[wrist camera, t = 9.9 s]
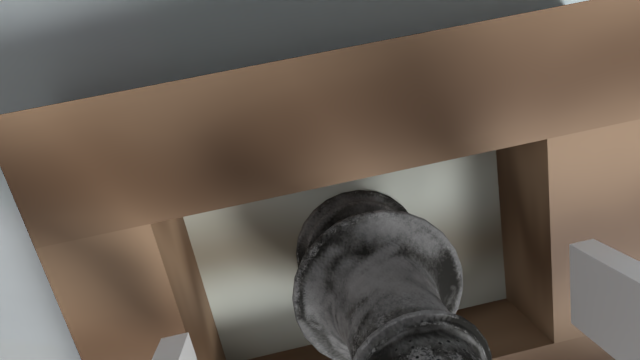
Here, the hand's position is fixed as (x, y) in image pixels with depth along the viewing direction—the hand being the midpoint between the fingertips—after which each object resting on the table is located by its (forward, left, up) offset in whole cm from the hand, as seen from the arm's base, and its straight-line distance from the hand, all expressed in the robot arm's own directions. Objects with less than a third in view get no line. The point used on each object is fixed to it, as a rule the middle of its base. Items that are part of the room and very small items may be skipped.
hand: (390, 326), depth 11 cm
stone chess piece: (0, 0, -5) cm, 5 cm away
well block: (0, 0, -6) cm, 6 cm away
